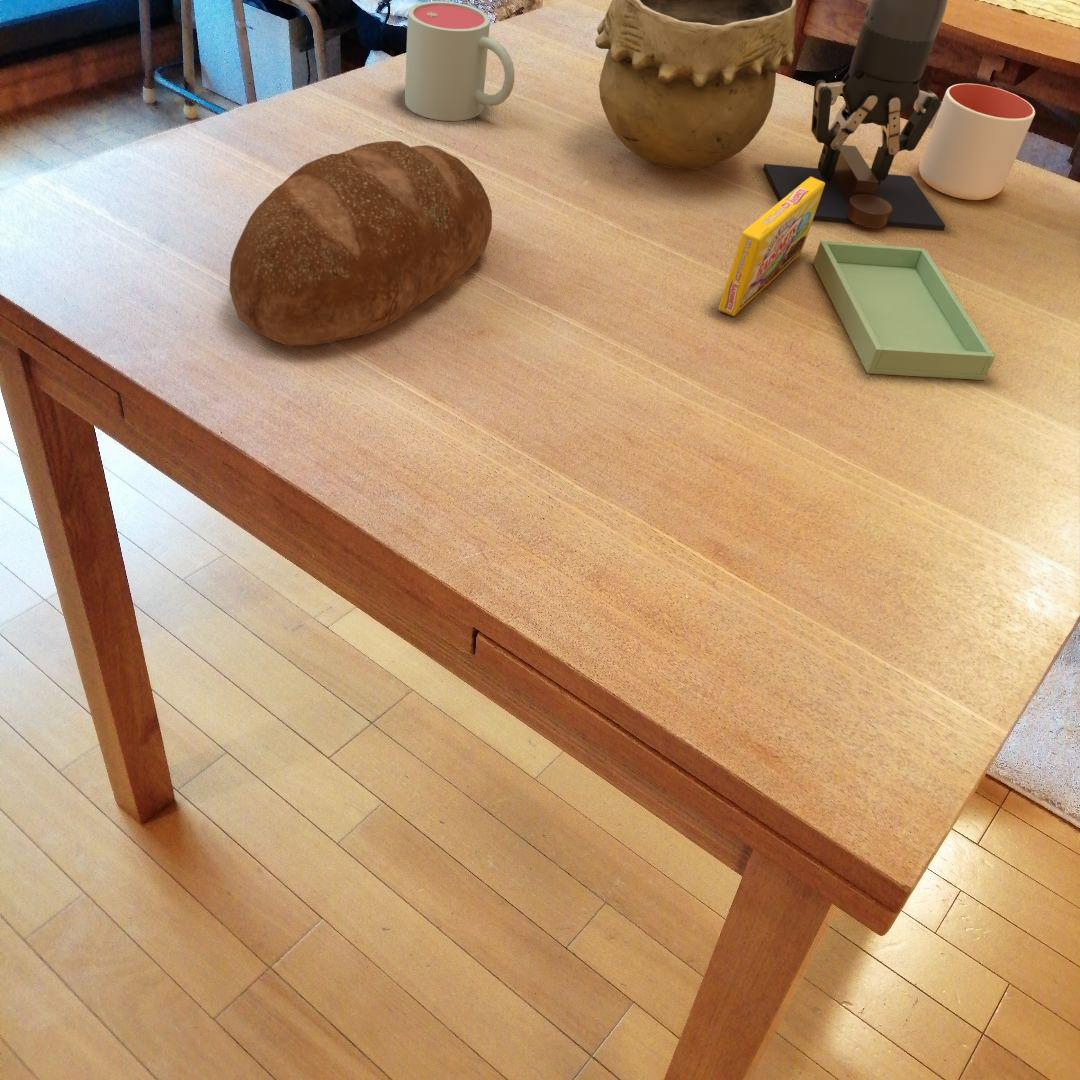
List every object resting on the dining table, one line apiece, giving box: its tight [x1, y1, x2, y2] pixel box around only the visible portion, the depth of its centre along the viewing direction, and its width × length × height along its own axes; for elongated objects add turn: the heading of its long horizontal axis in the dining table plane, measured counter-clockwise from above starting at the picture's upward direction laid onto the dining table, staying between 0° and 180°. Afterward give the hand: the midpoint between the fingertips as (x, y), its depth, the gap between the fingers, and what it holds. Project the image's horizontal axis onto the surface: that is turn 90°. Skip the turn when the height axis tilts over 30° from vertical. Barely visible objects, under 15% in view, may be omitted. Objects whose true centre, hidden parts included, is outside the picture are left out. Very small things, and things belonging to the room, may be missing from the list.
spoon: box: [833, 144, 892, 229], centre depth 121 cm, size 5×14×3 cm, turn 4°
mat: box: [762, 163, 946, 231], centre depth 123 cm, size 18×12×1 cm, turn 94°
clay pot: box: [595, 0, 797, 170], centre depth 118 cm, size 21×21×20 cm
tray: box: [812, 240, 996, 381], centre depth 104 cm, size 11×19×3 cm, turn 4°
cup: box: [918, 83, 1036, 201], centre depth 126 cm, size 10×10×10 cm
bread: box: [228, 140, 493, 347], centre depth 95 cm, size 16×29×11 cm, turn 149°
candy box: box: [718, 177, 825, 317], centre depth 104 cm, size 16×2×8 cm, turn 147°
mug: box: [404, 0, 515, 122], centre depth 125 cm, size 14×9×10 cm
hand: (849, 179), depth 124 cm, fingers open, 5 cm apart
